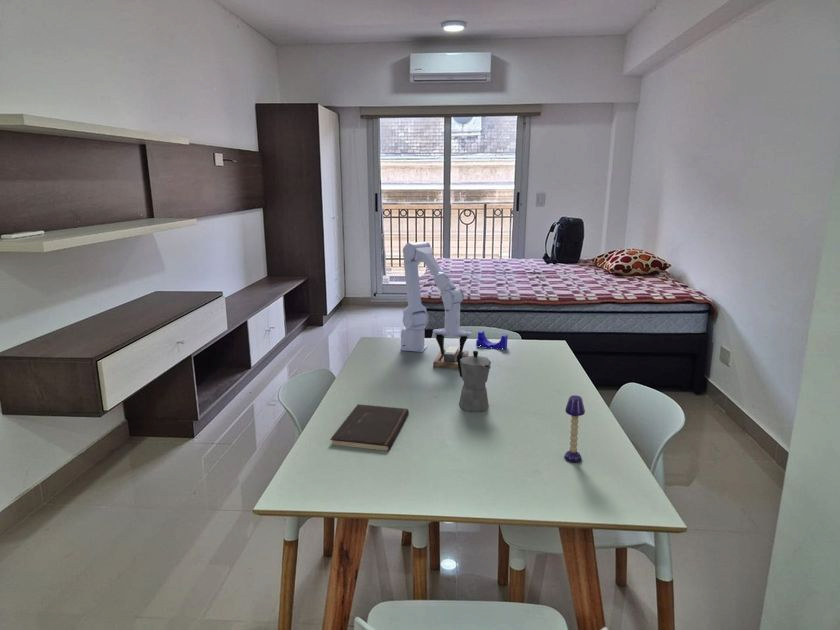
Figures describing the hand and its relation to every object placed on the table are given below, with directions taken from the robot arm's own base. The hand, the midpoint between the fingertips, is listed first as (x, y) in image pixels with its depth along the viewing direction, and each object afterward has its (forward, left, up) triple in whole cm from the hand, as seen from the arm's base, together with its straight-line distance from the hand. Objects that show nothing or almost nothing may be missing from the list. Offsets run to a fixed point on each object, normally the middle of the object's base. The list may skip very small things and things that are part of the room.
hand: (451, 354), depth 207 cm
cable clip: (+13, +22, -3) cm, 26 cm away
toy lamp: (+42, -66, -3) cm, 78 cm away
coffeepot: (+13, -39, -3) cm, 41 cm away
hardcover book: (-12, -62, -4) cm, 63 cm away
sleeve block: (0, 0, -2) cm, 2 cm away
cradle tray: (0, 0, -3) cm, 3 cm away
